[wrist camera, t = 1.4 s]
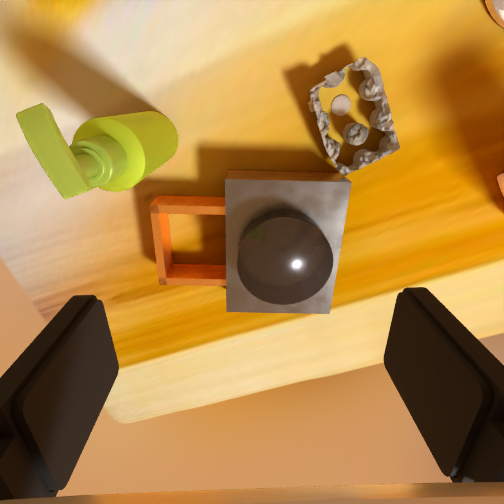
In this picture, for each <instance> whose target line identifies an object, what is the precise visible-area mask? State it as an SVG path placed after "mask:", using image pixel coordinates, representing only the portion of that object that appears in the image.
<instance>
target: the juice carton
mask: <svg viewBox="0 0 504 504" xmlns="http://www.w3.org/2000/svg"><path fill="white" fill-rule="evenodd" d="M497 181H498V184H499V187H500V189H501V192H502V194H503V196H504V173H502V174H500V175H498V176H497Z"/></svg>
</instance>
